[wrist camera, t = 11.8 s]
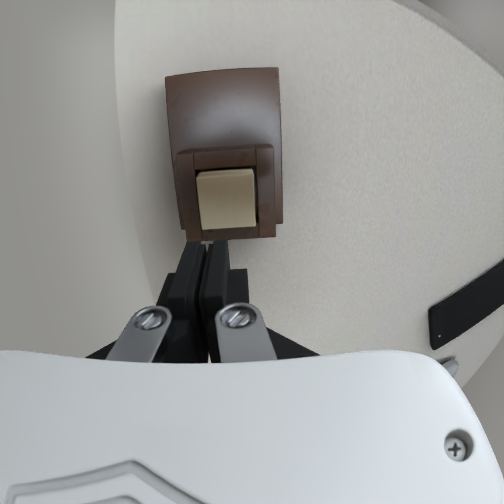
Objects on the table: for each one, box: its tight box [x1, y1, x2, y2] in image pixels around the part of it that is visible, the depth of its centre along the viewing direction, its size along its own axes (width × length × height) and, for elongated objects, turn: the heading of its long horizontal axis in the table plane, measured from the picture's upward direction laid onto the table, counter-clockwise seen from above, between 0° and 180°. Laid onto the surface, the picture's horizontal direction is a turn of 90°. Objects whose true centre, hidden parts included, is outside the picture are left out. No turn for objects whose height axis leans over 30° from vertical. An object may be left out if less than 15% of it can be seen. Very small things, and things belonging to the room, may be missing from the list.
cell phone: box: [429, 260, 504, 350], centre depth 30 cm, size 9×18×1 cm, turn 118°
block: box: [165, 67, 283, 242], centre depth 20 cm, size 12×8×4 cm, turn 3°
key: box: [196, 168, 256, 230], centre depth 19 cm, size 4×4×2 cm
